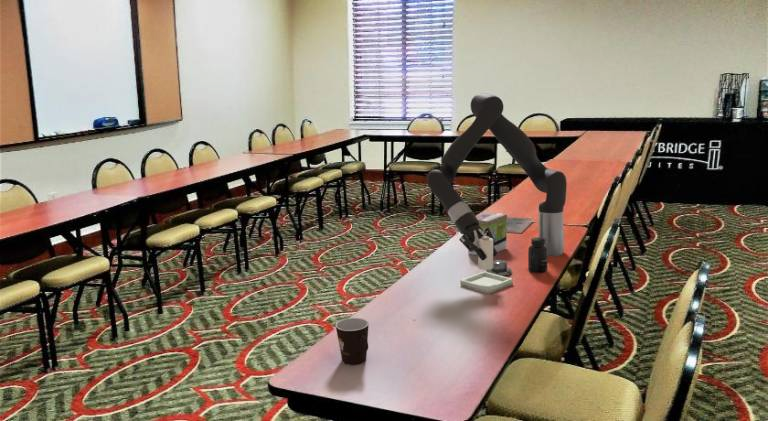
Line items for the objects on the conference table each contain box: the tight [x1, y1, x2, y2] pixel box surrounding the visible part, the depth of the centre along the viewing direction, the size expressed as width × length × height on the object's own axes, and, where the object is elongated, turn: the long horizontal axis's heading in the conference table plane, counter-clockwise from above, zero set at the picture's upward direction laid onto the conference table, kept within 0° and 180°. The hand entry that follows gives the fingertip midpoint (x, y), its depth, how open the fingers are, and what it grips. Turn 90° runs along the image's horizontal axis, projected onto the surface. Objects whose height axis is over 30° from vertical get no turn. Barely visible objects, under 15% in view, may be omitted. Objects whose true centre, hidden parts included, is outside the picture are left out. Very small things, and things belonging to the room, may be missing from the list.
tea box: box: [467, 211, 508, 256], centre depth 261 cm, size 15×10×15 cm
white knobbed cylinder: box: [477, 236, 494, 271], centre depth 221 cm, size 5×5×11 cm
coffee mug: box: [335, 317, 369, 366], centre depth 169 cm, size 12×9×10 cm
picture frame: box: [507, 216, 533, 234], centre depth 301 cm, size 16×2×22 cm
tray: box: [459, 270, 514, 295], centre depth 223 cm, size 13×13×2 cm
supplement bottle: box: [527, 236, 549, 274], centre depth 235 cm, size 7×7×12 cm
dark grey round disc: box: [485, 259, 513, 277], centre depth 235 cm, size 9×9×4 cm
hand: (490, 257), depth 220 cm, fingers closed on white knobbed cylinder, 5 cm apart
